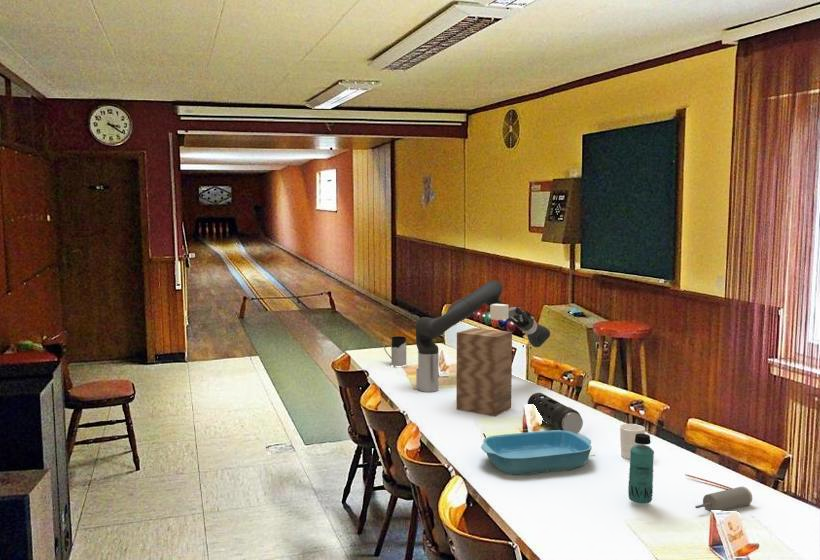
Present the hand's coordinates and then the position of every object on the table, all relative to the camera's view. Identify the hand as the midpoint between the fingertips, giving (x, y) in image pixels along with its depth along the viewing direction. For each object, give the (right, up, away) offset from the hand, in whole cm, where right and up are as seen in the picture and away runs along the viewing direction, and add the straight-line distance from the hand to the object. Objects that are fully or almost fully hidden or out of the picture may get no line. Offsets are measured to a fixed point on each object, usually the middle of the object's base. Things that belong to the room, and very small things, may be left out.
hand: (511, 308), depth 308 cm
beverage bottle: (+20, -50, -111) cm, 123 cm away
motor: (+39, -50, -105) cm, 122 cm away
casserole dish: (-3, -47, -78) cm, 91 cm away
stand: (-14, -41, -16) cm, 46 cm away
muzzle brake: (+10, -43, -41) cm, 61 cm away
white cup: (+29, -46, -73) cm, 91 cm away
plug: (-3, -3, -3) cm, 5 cm away
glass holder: (-53, -33, +66) cm, 91 cm away
